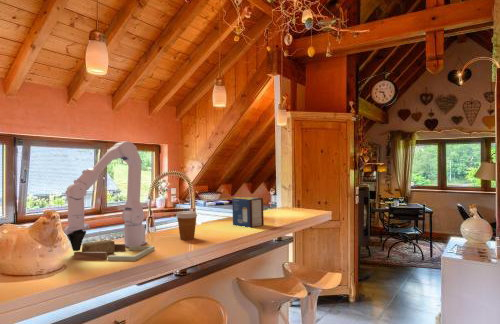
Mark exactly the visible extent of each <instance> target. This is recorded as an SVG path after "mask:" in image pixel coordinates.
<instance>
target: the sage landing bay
mask: <svg viewBox="0 0 500 324" xmlns="http://www.w3.org/2000/svg"><path fill="white" fill-rule="evenodd" d="M155 247H156V246H155V245H141V246H129V247H128V251H139V252H138V253H136V254H134V255H107V261H111V262H116V261H117V262H122V261H123V262H136V261H138V260H139V259H141V258H143V257H144V256H146V255H148V254H151V252H153V251H155Z"/></svg>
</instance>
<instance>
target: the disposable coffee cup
mask: <svg viewBox="0 0 500 324" xmlns="http://www.w3.org/2000/svg"><path fill="white" fill-rule="evenodd" d="M176 213H177V214H176V219H177V225H178V233H179V237H180V240H181V241H189V240H190V239H191V240H194V239H195V235H196V233H195V232H196V225H197V217H198V213H197V212H196V211H179V212H178V211H177V212H176Z"/></svg>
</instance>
